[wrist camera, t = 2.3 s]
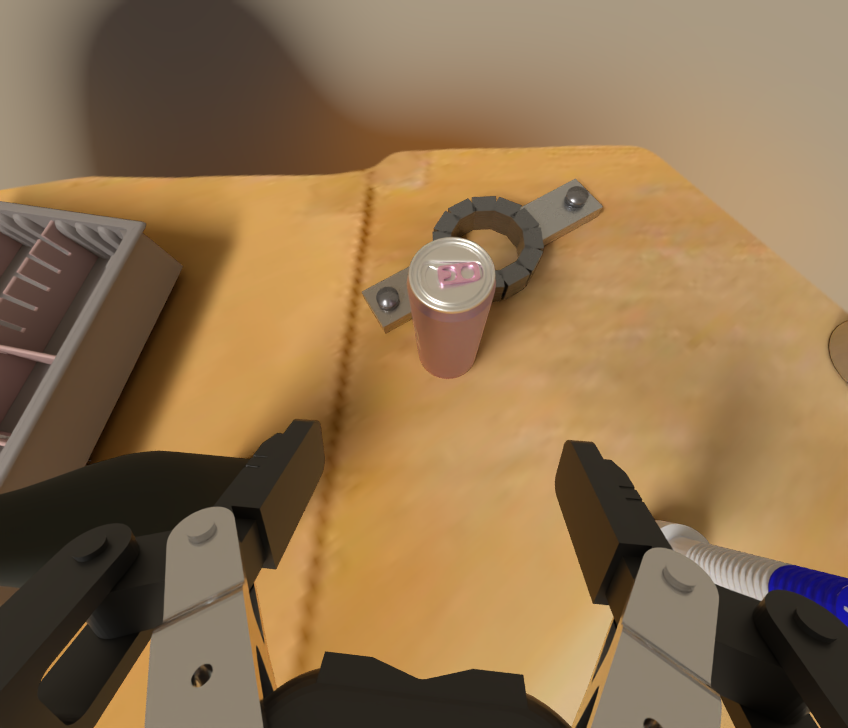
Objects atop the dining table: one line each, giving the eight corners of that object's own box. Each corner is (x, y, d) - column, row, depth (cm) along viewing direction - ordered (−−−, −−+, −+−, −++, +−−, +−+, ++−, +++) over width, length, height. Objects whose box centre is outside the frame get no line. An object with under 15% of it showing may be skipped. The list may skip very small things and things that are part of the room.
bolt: (636, 509, 30) (694, 534, 29) (622, 567, 29) (683, 595, 28) (823, 540, 16) (951, 593, 15) (813, 661, 14) (953, 727, 13)
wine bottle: (189, 526, 32) (-2055, 963, 3) (236, 446, 34) (-848, 282, 5) (260, 566, 30) (-2524, 1953, 2) (305, 480, 32) (-659, 506, 4)
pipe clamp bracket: (553, 171, 43) (561, 150, 40) (616, 236, 40) (629, 217, 37) (351, 277, 39) (344, 261, 37) (400, 358, 36) (397, 348, 33)
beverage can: (479, 377, 35) (506, 308, 21) (422, 383, 35) (409, 319, 21) (470, 324, 37) (490, 229, 23) (416, 331, 37) (401, 239, 23)
